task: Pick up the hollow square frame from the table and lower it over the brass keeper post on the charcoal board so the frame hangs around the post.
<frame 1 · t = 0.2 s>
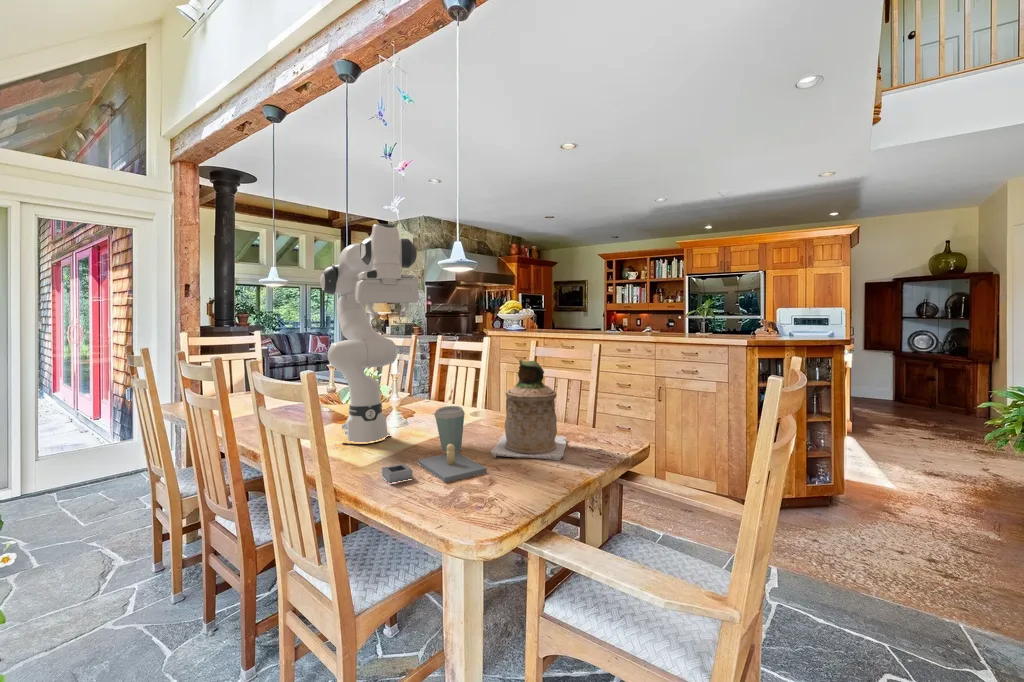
hand: (388, 317, 151), 47 cm above the table, tool pointing down, fingers open, 8 cm apart
cookie jar: (530, 449, 165), on the table
disposable coffee cup: (450, 451, 165), on the table
keeper board: (451, 468, 146), on the table
hollow square frame: (397, 479, 138), on the table
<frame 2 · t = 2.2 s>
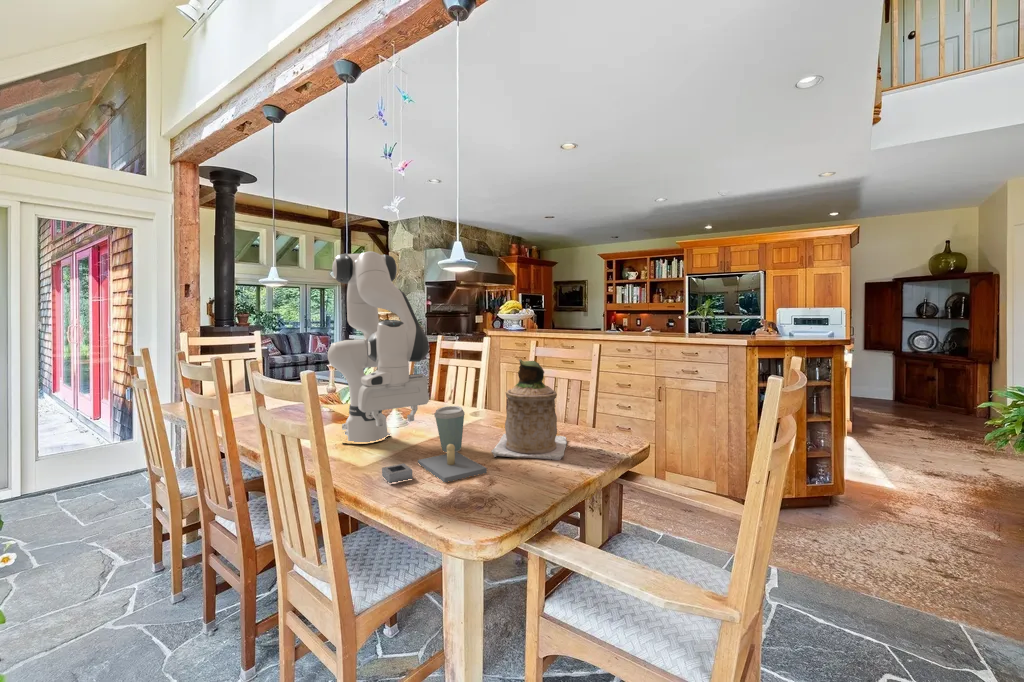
hand: (395, 423, 136), 17 cm above the table, tool pointing down, fingers open, 8 cm apart
nothing on the table moved.
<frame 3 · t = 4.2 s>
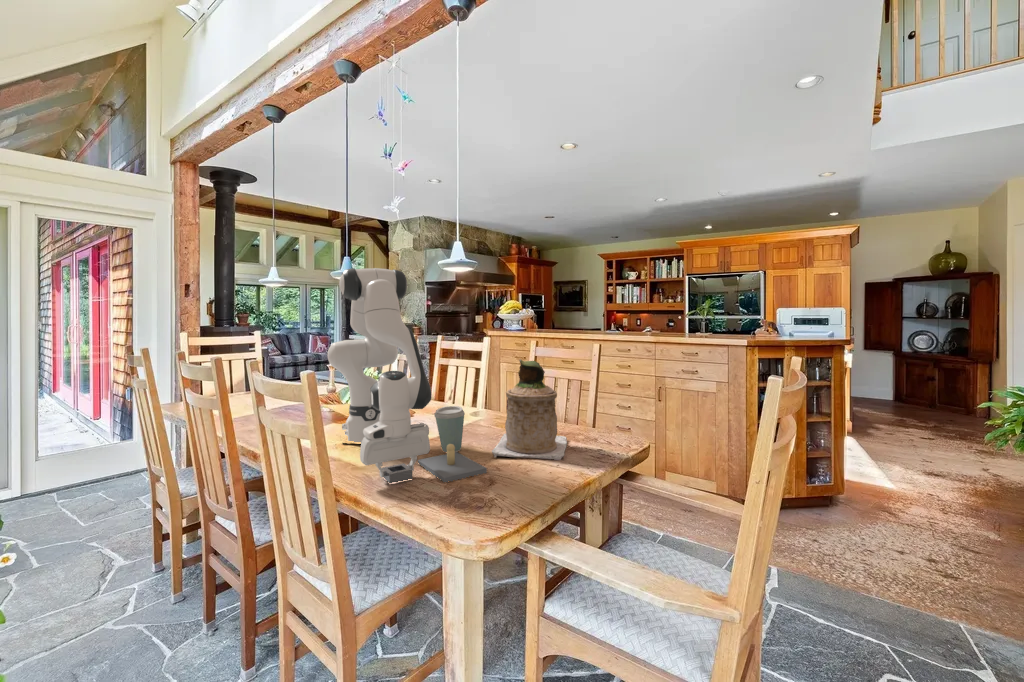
hand: (397, 473, 137), 2 cm above the table, tool pointing down, fingers closed on hollow square frame, 7 cm apart
hollow square frame: (397, 479, 138), on the table, touching gripper
everything else where it was.
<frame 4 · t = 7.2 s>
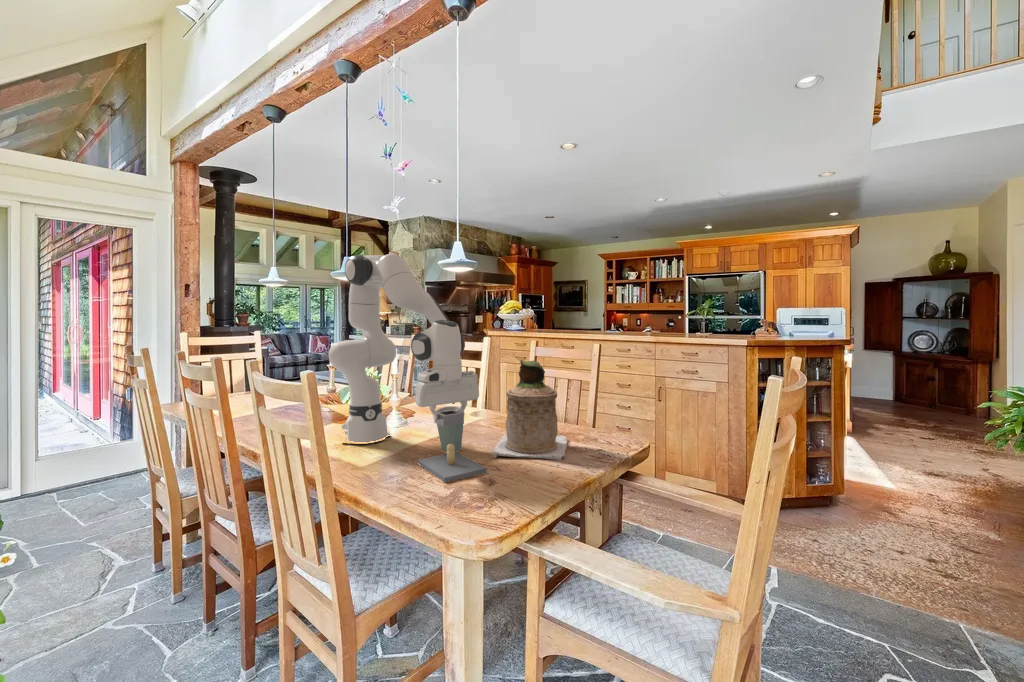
hand: (448, 417, 145), 16 cm above the table, tool pointing down, fingers closed on hollow square frame, 7 cm apart
hollow square frame: (449, 423, 145), point 15 cm above the table, touching gripper
everything else where it was.
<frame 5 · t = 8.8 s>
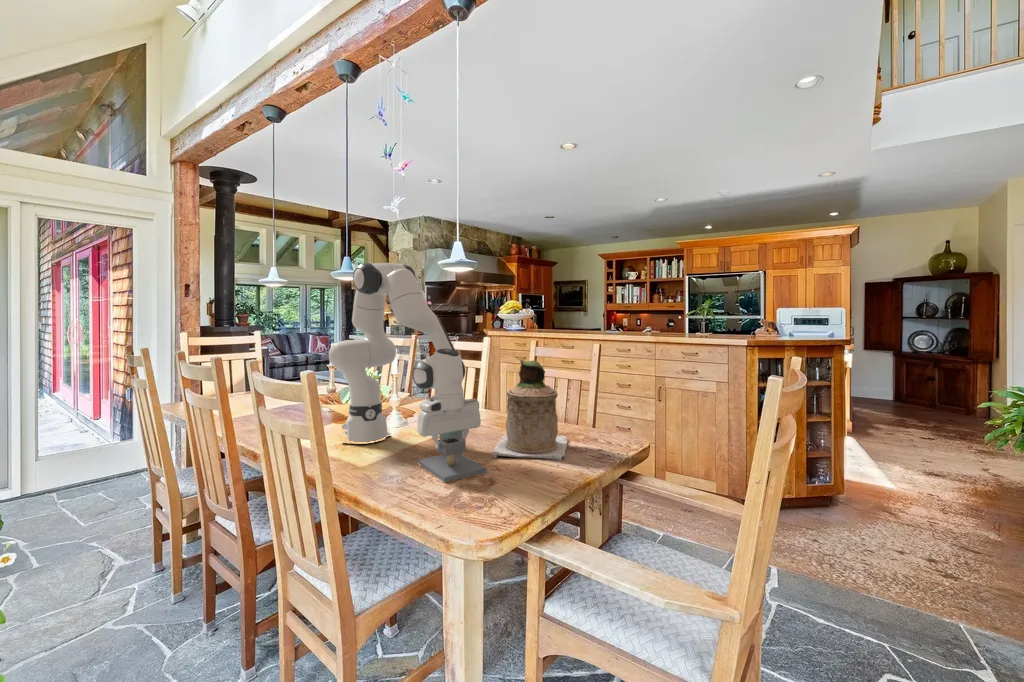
hand: (450, 445, 145), 7 cm above the table, tool pointing down, fingers closed on hollow square frame, 7 cm apart
hollow square frame: (451, 451, 145), point 6 cm above the table, touching gripper
everything else where it was.
when the fingers open (4 cm above the table, at t = 10.1 s): hollow square frame stays where it is, resting on keeper board.
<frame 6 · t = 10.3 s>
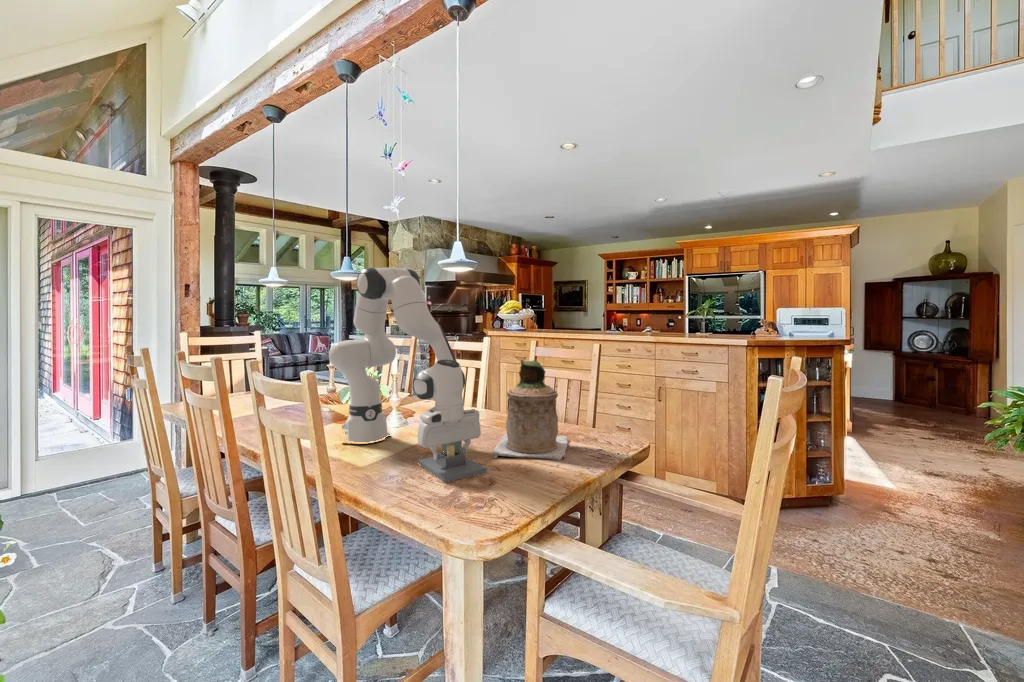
hand: (450, 456, 146), 4 cm above the table, tool pointing down, fingers open, 8 cm apart
hollow square frame: (451, 463, 146), point 1 cm above the table, touching keeper board
everything else where it was.
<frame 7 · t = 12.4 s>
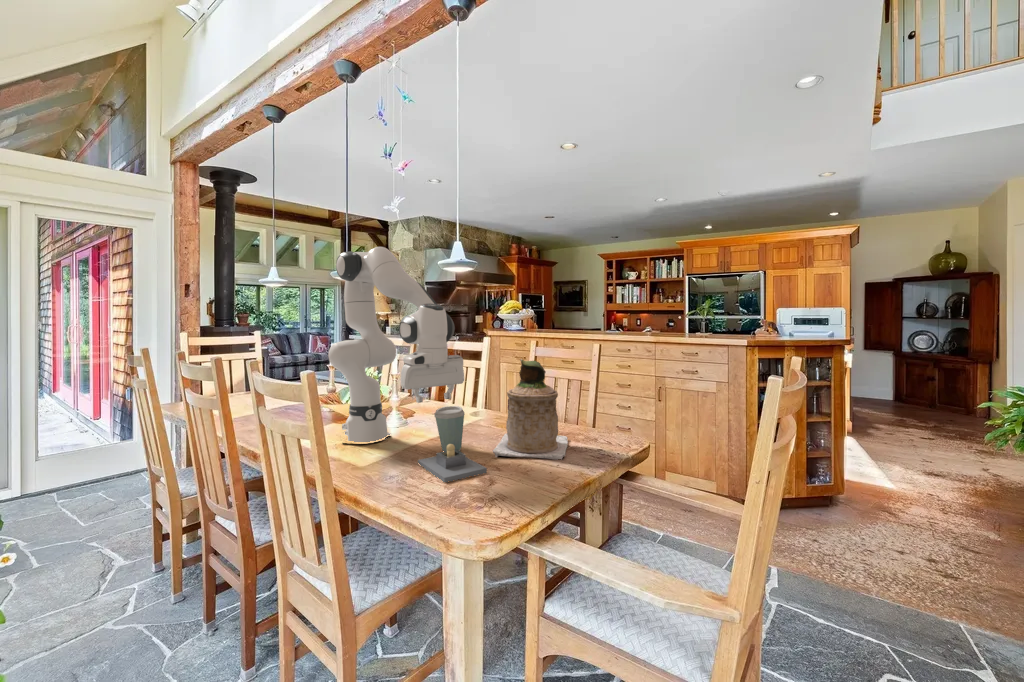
hand: (433, 400, 146), 21 cm above the table, tool pointing down, fingers open, 8 cm apart
nothing on the table moved.
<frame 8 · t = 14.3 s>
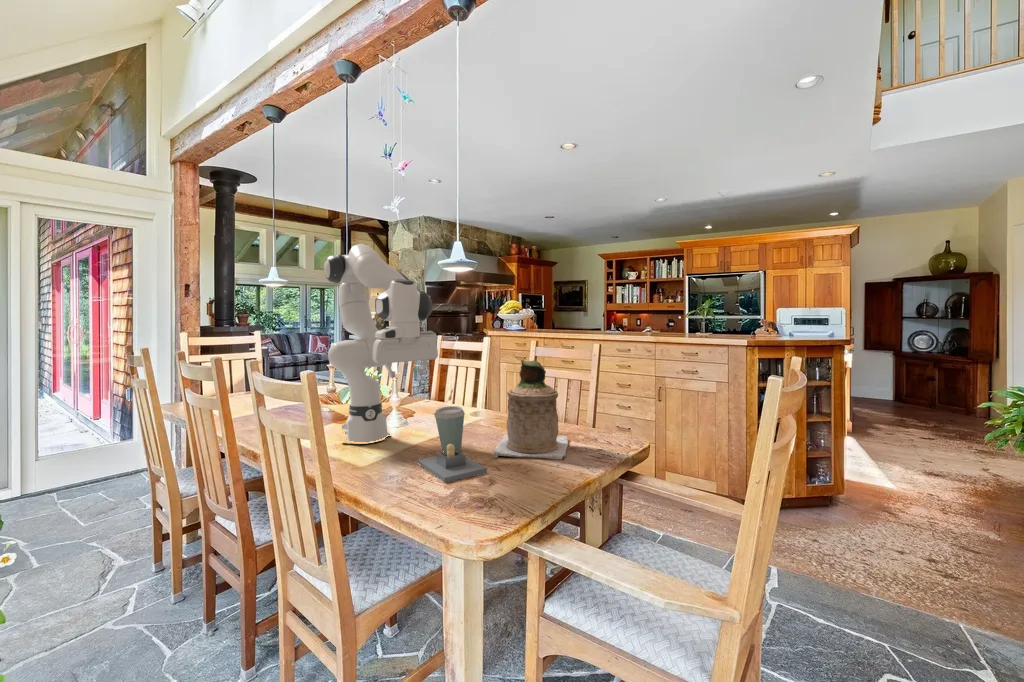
hand: (407, 375, 146), 29 cm above the table, tool pointing down, fingers open, 8 cm apart
nothing on the table moved.
at the end: hollow square frame 0.0 cm off-centre on the keeper board, point 1.5 cm above the keeper board's base; the gripper is holding nothing; hollow square frame tilted 0° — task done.
